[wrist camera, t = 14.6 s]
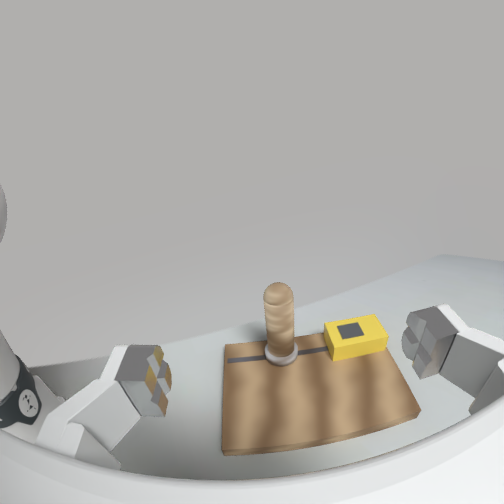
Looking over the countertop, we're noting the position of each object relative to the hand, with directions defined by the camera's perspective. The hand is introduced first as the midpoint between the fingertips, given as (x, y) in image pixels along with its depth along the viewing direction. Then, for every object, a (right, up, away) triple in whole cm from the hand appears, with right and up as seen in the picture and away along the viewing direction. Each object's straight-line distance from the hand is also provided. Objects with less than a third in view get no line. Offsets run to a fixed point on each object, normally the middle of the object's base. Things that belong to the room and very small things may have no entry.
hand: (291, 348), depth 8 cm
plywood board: (+8, -17, +29) cm, 34 cm away
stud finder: (+15, -12, +33) cm, 39 cm away
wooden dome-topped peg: (+3, -13, +33) cm, 36 cm away
